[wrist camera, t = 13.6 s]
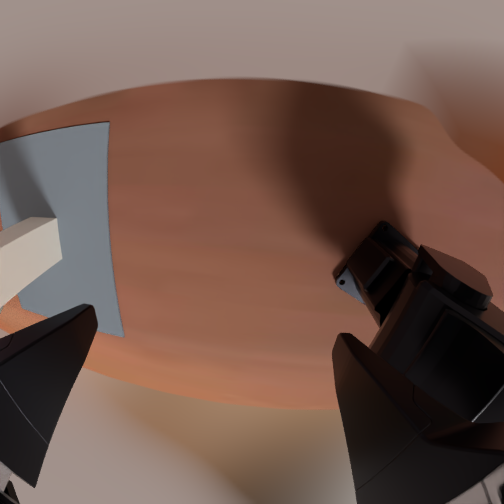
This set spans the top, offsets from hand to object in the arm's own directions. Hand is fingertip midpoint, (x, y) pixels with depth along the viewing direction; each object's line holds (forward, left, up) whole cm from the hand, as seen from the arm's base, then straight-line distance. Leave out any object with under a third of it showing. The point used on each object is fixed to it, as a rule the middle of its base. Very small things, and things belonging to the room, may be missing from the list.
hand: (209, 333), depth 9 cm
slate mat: (+15, +10, -12) cm, 22 cm away
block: (+15, +11, -12) cm, 22 cm away
